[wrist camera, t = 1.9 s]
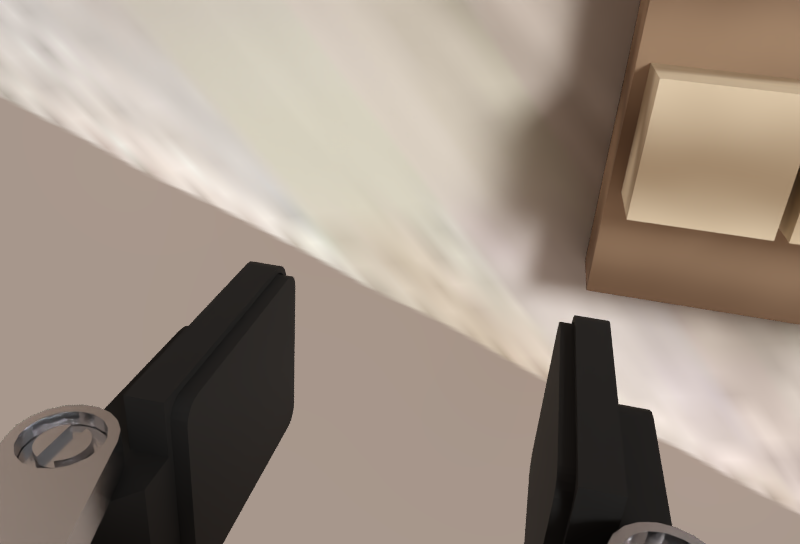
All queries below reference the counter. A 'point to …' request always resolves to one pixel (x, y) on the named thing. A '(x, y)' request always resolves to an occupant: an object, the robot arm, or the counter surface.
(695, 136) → the tile
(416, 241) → the counter surface
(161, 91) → the counter surface
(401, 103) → the counter surface
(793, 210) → the tile
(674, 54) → the board
